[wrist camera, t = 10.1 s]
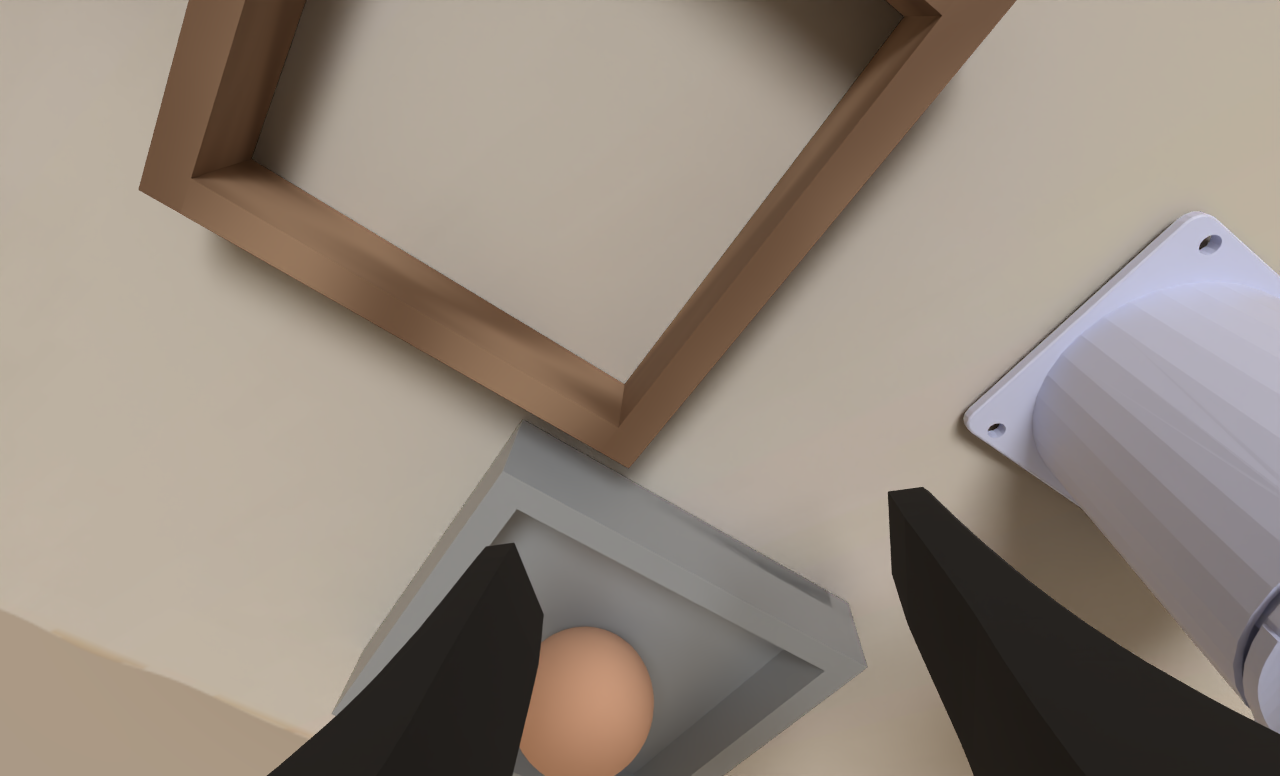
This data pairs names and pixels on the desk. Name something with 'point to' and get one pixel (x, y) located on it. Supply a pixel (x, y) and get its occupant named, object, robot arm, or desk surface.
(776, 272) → the square wooden frame
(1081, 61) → the desk surface
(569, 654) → the ball
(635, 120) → the desk surface
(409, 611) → the tray
